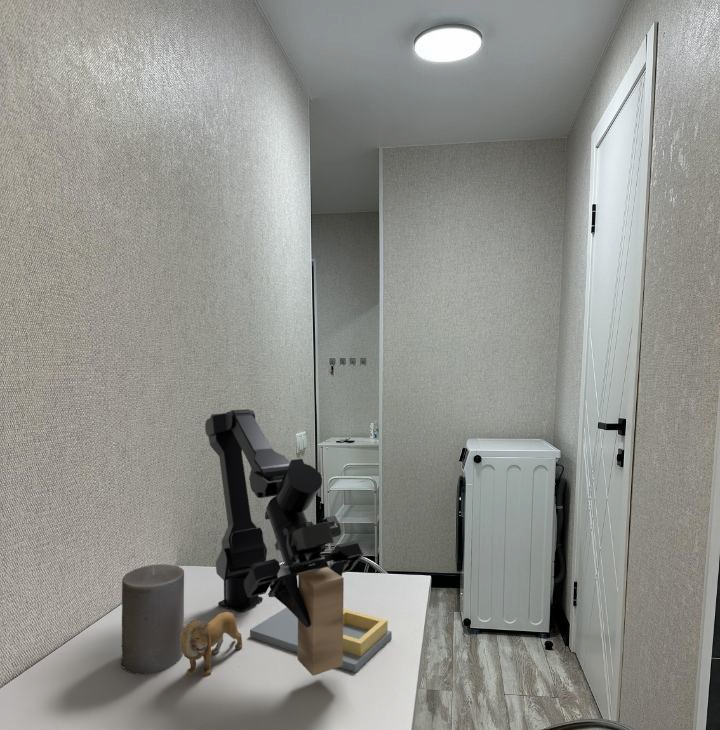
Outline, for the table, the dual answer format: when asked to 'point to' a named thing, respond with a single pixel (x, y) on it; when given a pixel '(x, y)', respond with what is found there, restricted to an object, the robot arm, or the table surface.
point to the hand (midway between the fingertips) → (324, 621)
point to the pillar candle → (152, 618)
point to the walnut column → (321, 620)
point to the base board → (358, 635)
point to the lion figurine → (207, 639)
